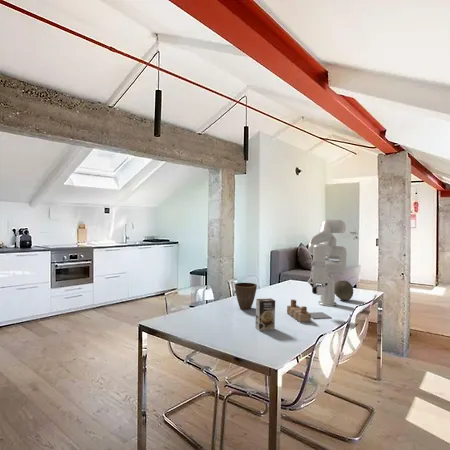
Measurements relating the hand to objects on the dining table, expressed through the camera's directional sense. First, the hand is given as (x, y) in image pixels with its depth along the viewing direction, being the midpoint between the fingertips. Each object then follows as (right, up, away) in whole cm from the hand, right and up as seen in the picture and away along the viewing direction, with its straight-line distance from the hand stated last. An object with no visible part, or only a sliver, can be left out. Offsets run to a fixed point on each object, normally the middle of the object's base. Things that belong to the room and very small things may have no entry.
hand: (318, 293), depth 214 cm
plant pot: (-45, -14, +16) cm, 50 cm away
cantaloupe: (+31, -15, +45) cm, 57 cm away
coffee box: (-37, -14, -27) cm, 48 cm away
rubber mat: (0, -14, 0) cm, 14 cm away
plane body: (-14, -14, -4) cm, 20 cm away
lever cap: (0, 0, 0) cm, 0 cm away
